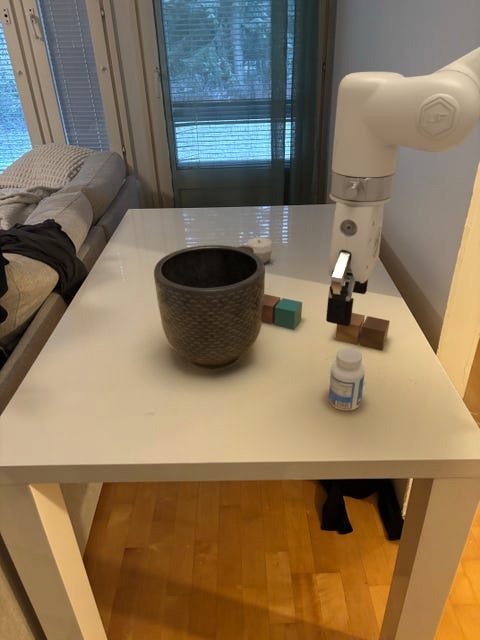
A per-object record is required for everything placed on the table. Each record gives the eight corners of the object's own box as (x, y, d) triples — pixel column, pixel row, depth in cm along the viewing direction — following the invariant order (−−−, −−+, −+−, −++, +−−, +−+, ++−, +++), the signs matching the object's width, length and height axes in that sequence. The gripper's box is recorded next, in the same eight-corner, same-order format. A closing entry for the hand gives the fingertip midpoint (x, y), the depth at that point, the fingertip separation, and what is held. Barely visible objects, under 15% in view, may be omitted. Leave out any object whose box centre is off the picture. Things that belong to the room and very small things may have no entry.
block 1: (280, 315, 104) (280, 297, 102) (272, 324, 101) (272, 306, 99) (261, 310, 106) (261, 293, 104) (253, 320, 103) (253, 302, 100)
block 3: (362, 333, 97) (364, 315, 95) (356, 344, 94) (359, 325, 92) (341, 329, 99) (343, 310, 97) (335, 339, 96) (337, 320, 93)
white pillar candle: (239, 263, 129) (239, 241, 125) (254, 253, 134) (254, 232, 131) (264, 269, 125) (264, 247, 122) (278, 259, 131) (279, 237, 127)
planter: (255, 390, 82) (256, 295, 72) (150, 379, 86) (136, 286, 76) (269, 331, 99) (271, 247, 89) (180, 323, 102) (172, 241, 92)
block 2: (301, 319, 103) (302, 302, 100) (293, 329, 99) (294, 311, 97) (282, 315, 104) (282, 297, 102) (274, 325, 101) (274, 307, 99)
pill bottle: (347, 387, 83) (353, 341, 78) (367, 405, 78) (374, 358, 73) (321, 396, 81) (326, 350, 76) (340, 415, 76) (346, 368, 71)
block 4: (386, 339, 95) (389, 320, 93) (382, 350, 92) (385, 331, 90) (364, 334, 97) (367, 315, 95) (359, 345, 94) (362, 326, 91)
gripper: (378, 209, 49) (359, 344, 58) (403, 172, 63) (385, 285, 71) (310, 201, 52) (302, 331, 61) (348, 167, 65) (337, 277, 74)
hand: (347, 306), depth 66 cm, fingers open, 9 cm apart
